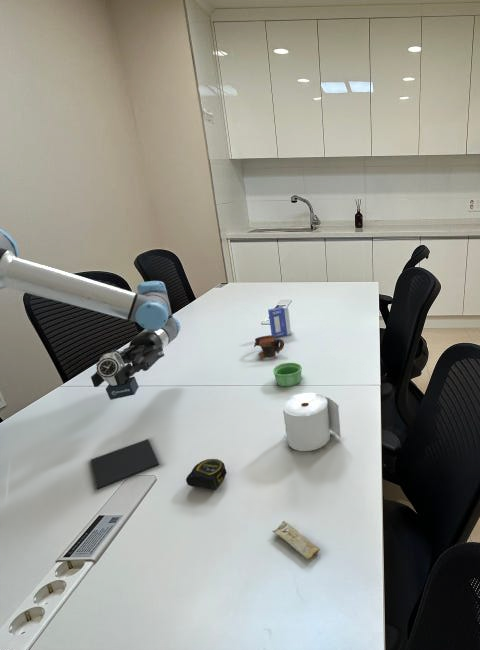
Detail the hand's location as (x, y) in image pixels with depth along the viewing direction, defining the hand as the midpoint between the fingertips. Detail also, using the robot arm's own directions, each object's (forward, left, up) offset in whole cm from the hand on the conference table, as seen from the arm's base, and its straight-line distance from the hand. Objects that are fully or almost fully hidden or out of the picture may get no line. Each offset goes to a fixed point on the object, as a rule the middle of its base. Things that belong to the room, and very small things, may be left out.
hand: (105, 381), depth 91 cm
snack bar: (+55, +18, -17) cm, 61 cm away
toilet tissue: (+30, +36, -17) cm, 50 cm away
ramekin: (-1, +46, -17) cm, 49 cm away
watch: (-4, +3, -7) cm, 8 cm away
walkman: (-40, +63, -17) cm, 77 cm away
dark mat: (+10, -2, -17) cm, 20 cm away
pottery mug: (-25, +51, -17) cm, 59 cm away
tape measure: (+30, +11, -17) cm, 36 cm away
